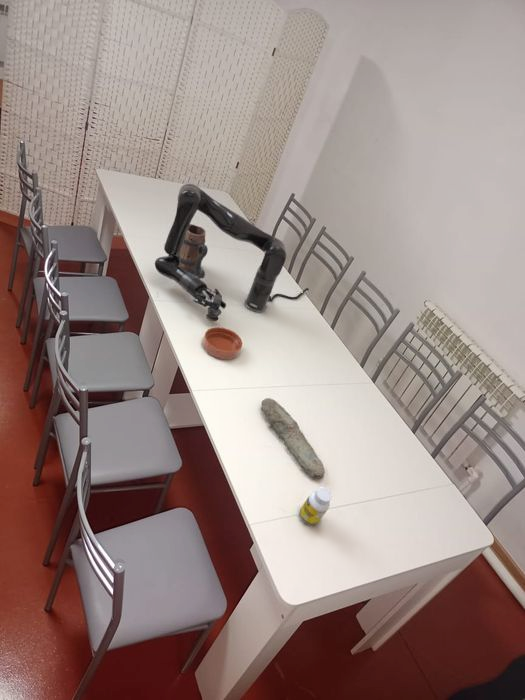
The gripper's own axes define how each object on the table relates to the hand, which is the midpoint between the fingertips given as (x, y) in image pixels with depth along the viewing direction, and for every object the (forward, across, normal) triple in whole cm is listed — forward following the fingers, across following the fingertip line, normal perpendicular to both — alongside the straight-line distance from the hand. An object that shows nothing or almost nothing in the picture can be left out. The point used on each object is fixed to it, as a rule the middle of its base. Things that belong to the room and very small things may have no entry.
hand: (221, 307), depth 198 cm
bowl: (+11, -8, +9) cm, 17 cm away
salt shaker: (-3, 0, +7) cm, 8 cm away
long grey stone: (+58, -22, +9) cm, 63 cm away
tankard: (-37, +19, +10) cm, 43 cm away
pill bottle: (+80, -41, +9) cm, 91 cm away
